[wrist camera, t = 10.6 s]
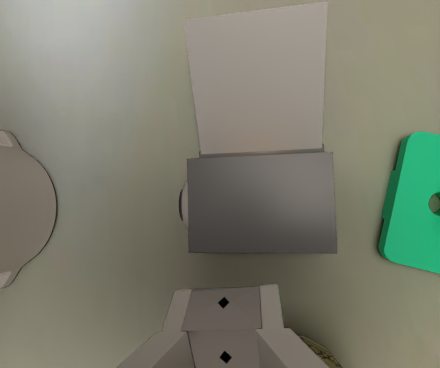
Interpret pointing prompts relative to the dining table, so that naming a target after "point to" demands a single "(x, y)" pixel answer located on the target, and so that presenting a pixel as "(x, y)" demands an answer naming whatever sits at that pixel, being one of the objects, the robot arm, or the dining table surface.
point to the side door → (259, 80)
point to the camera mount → (413, 205)
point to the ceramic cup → (321, 353)
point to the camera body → (260, 204)
